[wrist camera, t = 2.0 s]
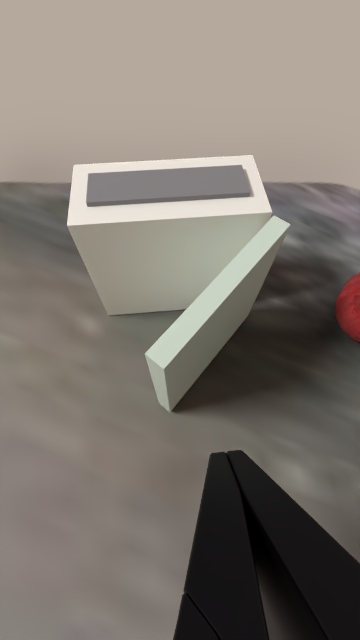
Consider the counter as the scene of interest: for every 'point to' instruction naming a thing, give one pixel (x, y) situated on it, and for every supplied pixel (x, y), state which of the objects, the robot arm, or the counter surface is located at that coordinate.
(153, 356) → the door
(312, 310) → the counter surface
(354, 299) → the onion
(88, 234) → the box
